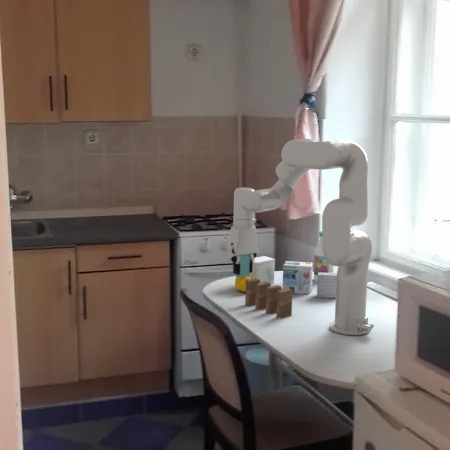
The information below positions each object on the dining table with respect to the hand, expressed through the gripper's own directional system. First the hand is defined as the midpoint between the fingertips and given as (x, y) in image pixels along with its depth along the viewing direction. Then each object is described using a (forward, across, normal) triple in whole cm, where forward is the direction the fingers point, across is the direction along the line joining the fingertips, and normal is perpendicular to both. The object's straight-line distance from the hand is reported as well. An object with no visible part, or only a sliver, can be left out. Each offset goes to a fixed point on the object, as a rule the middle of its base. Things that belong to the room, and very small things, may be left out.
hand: (242, 272), depth 248 cm
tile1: (+10, 0, +22) cm, 25 cm away
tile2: (+10, 0, +17) cm, 20 cm away
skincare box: (+11, -19, -13) cm, 25 cm away
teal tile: (+1, 0, 0) cm, 1 cm away
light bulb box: (+11, -25, +2) cm, 27 cm away
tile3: (+10, 0, +11) cm, 15 cm away
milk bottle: (+11, -44, -3) cm, 45 cm away
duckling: (+11, -8, -10) cm, 17 cm away
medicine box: (+11, -29, +14) cm, 34 cm away
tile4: (+10, 0, +6) cm, 12 cm away
